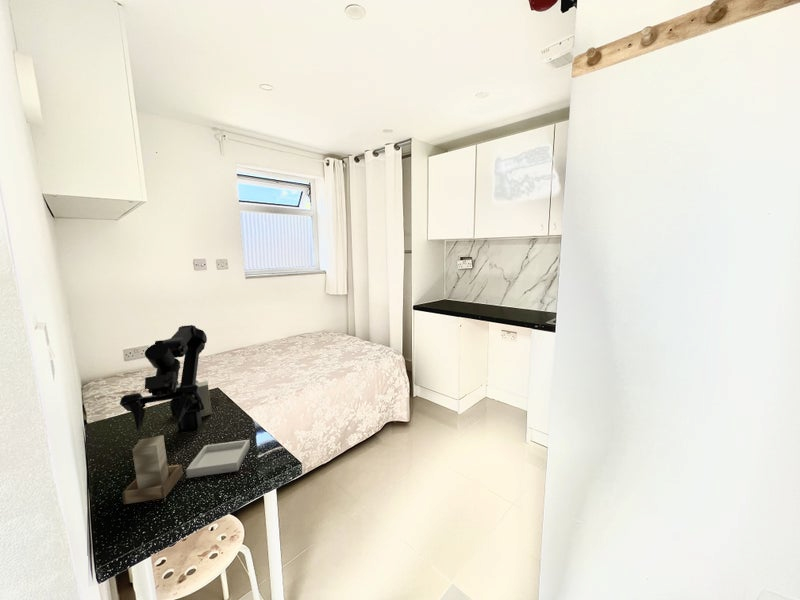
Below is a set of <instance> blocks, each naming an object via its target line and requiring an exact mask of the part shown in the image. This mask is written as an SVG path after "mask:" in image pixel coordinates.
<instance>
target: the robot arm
mask: <svg viewBox="0 0 800 600" xmlns="http://www.w3.org/2000/svg"><path fill="white" fill-rule="evenodd" d="M207 341H208V338H207V333H205V331H204V330H203V329H200V328H198V327H196V325H194V324H193V325H192V324H189V325H180V326H179V327H178V330H177V331H176V332H175V333H174V334H173V335H172V336H171V338H168V339H163V340H161V339H160V340H155V342H154V344H151V345H150V346H149V347H147V348H146V349H145V351H144V356H145V358H146V359H147V361H149V363H150V364H151V366H152V367H153V368H154V369H156V372H155V375H153V376H147V377H145V378H144V390H148V391H147V392H148V393H149V394H151V395H147V396H143V395H142V394H141V393H140V392H136V393H130V394H125V395H123V396H122V397H121V398H120V402H119V405H120V406H121V407H122V408H124V409H125V410H126V411H127V412H130V413H132V415H133V418H134V421H135V422H134V423H135V427H136V430H137V431H141V429H142V427H143V422H144V417H145V414H146V409H145V407H146V404H149V403H156V402H162V401H169V400H170V403H169V407H170V410H171V413H172V417H176V420H175V422H176V426H177V429H178V430H177V431H176V433H177V434H181V433H182V434H183V433H189V432H196V431H198V430H199V429H200V428H201V427H202V425H203V424H205V421H203V420H202V417H201V410H204V403H203V400H202V398H201V397H202V392H201V390H200V388H199V387H198V386H197V385H195V384H196V380H197V374H198V366H199V365H198V364H199V355H200V354H201V353H202V351H203V350H205V347H206V344H207V343H208V342H207ZM183 357H184V358H183ZM178 358H183V364H182V365H183V367H182V373H181V378H180V383H181V384H180V383H179V375H180V374H179V373H180V370H181V361H180V360H179V359H178ZM178 384H180V387H179V388H176V387H177V385H178Z"/></svg>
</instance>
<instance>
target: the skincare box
mask: <svg viewBox="0 0 800 600" xmlns="http://www.w3.org/2000/svg"><path fill="white" fill-rule="evenodd" d="M195 385H197V386H198V387H199V388H200V390H201V392H202V397H201V398H202V400H203V403H204V410H201V418H202V417H206V416H208V415H212V414H213V412H212V405H211V399H210V398H211V396H210V391H209V390H210V389H209V382H208V380H204V381H201V382H199V383H196V384H195Z"/></svg>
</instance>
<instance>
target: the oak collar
mask: <svg viewBox="0 0 800 600" xmlns="http://www.w3.org/2000/svg"><path fill="white" fill-rule="evenodd" d="M168 472H169V478H168V479H167V480H166V481H165V482H164V484H163V485H162V486H156V487H150V488H143V489H138V485H137V478H135V479H134V480H133V481H131V483H130V484H129V485H128V486H127V487H126V488H125V489H124V490H123V491H122V492H121V496H122V497H121V498H122V504H123V505H127V504H133V503H134V504H135V503H141V502H147V501H153V500H160V499H165V498H166V497H167V496H168V495H169V493H170V492H171V491H172V489H173V488H174V487H175V485H176V484H177V483H178V482H179V481H180V479H181V478H182V476H183V474H184V473H183V472H184V471H183V464H174V465H168Z"/></svg>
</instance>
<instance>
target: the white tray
mask: <svg viewBox="0 0 800 600" xmlns="http://www.w3.org/2000/svg"><path fill="white" fill-rule="evenodd" d="M250 448H251V442H250V439H244V440H243V439H242V440H238V441H237V440H235V441H230V442H222V443H219V442H218V443H212V444H206V445H204V446H203V447H202V449H201V450H200V451H198V454H197V455H196V456H195V457H194V458H193V460H192V462H191V463H190V464H189V465H188V467H187V468H186V469H185V471H186V478H187V479H191V478H198V477H203V476H211V475H217V474H218V475H219V474H224V473H231V472H232V473H233V472H238V471H239V469H240V467H241V466H242V464H243V462H244V459H245V458H246V456H247V454H248V452H249V450H250Z"/></svg>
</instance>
